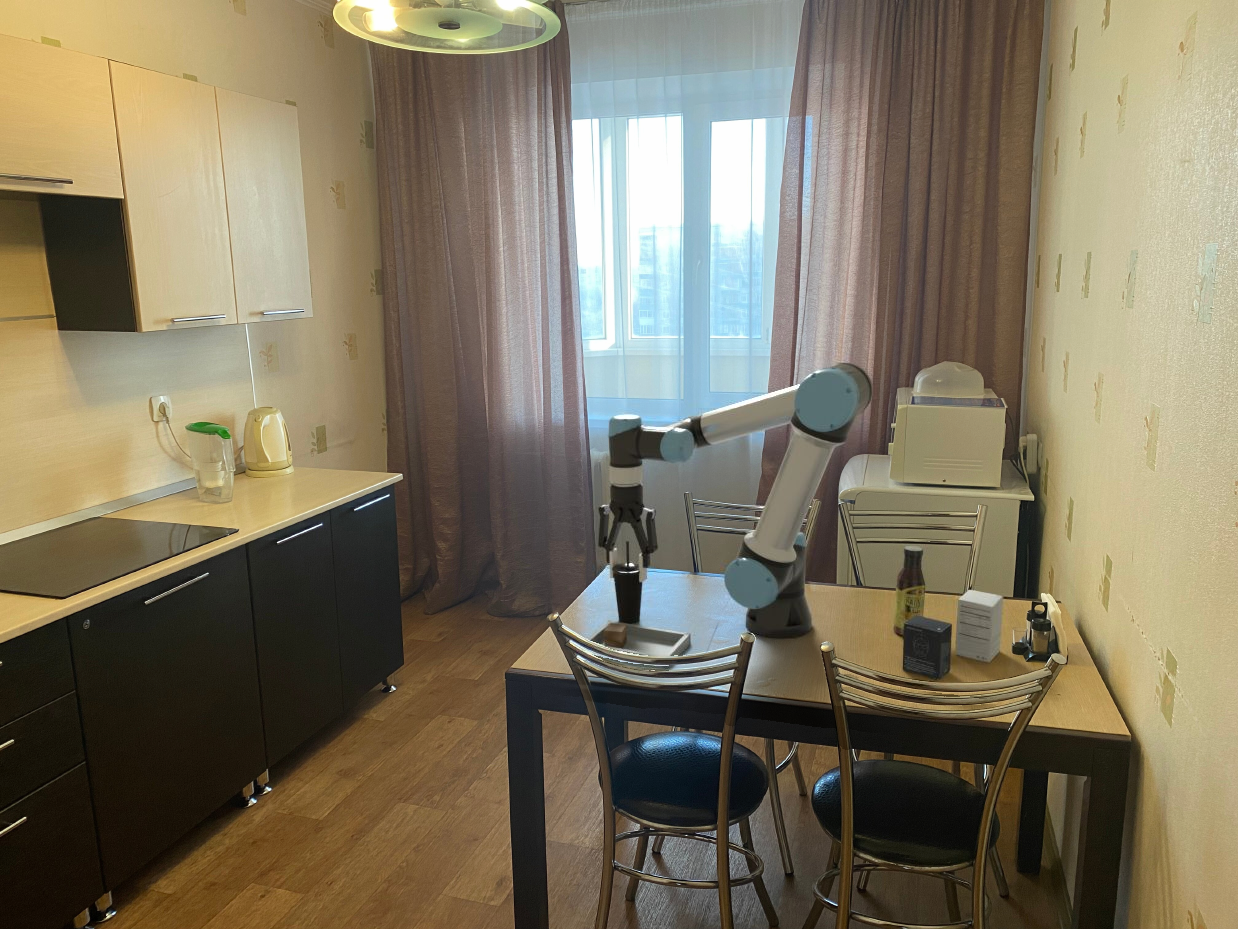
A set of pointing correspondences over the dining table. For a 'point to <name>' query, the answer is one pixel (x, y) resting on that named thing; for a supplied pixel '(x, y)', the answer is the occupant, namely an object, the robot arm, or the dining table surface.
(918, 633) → the box
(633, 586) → the drinking cup
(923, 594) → the sauce bottle
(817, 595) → the dining table surface
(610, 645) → the walnut block
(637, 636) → the tray
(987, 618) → the supplement box
